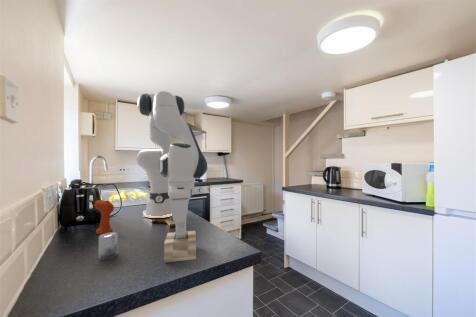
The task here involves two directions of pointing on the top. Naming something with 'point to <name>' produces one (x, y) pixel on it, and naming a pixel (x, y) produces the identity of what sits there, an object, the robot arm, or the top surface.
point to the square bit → (181, 233)
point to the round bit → (108, 246)
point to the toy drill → (104, 215)
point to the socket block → (180, 247)
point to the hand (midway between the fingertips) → (181, 229)
